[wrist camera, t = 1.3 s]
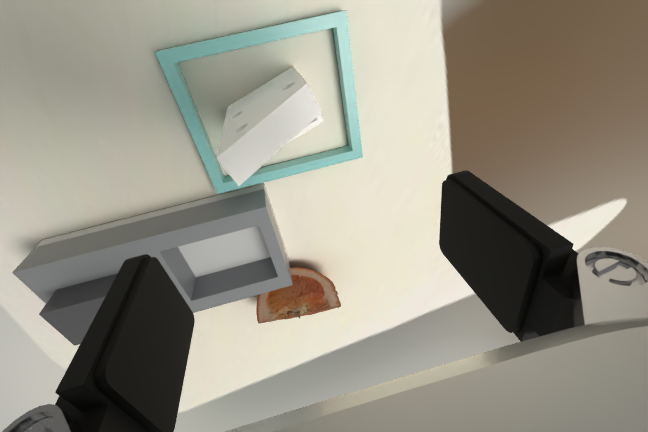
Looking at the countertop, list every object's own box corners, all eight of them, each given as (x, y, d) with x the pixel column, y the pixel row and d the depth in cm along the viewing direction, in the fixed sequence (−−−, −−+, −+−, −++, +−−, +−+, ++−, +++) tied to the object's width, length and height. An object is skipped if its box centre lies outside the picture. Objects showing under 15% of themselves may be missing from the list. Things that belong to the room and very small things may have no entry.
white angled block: (173, 148, 21) (215, 158, 15) (273, 71, 25) (345, 51, 18) (208, 186, 24) (259, 210, 17) (296, 111, 27) (368, 106, 20)
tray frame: (159, 50, 20) (154, 52, 19) (342, 10, 21) (346, 10, 20) (218, 187, 26) (217, 194, 25) (358, 152, 27) (362, 157, 26)
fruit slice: (330, 253, 33) (342, 286, 29) (330, 295, 37) (341, 330, 33) (252, 264, 32) (252, 301, 28) (260, 307, 36) (262, 345, 31)
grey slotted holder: (42, 239, 26) (-11, 297, 20) (263, 183, 27) (267, 224, 22) (104, 307, 31) (75, 367, 26) (288, 257, 32) (295, 304, 27)
